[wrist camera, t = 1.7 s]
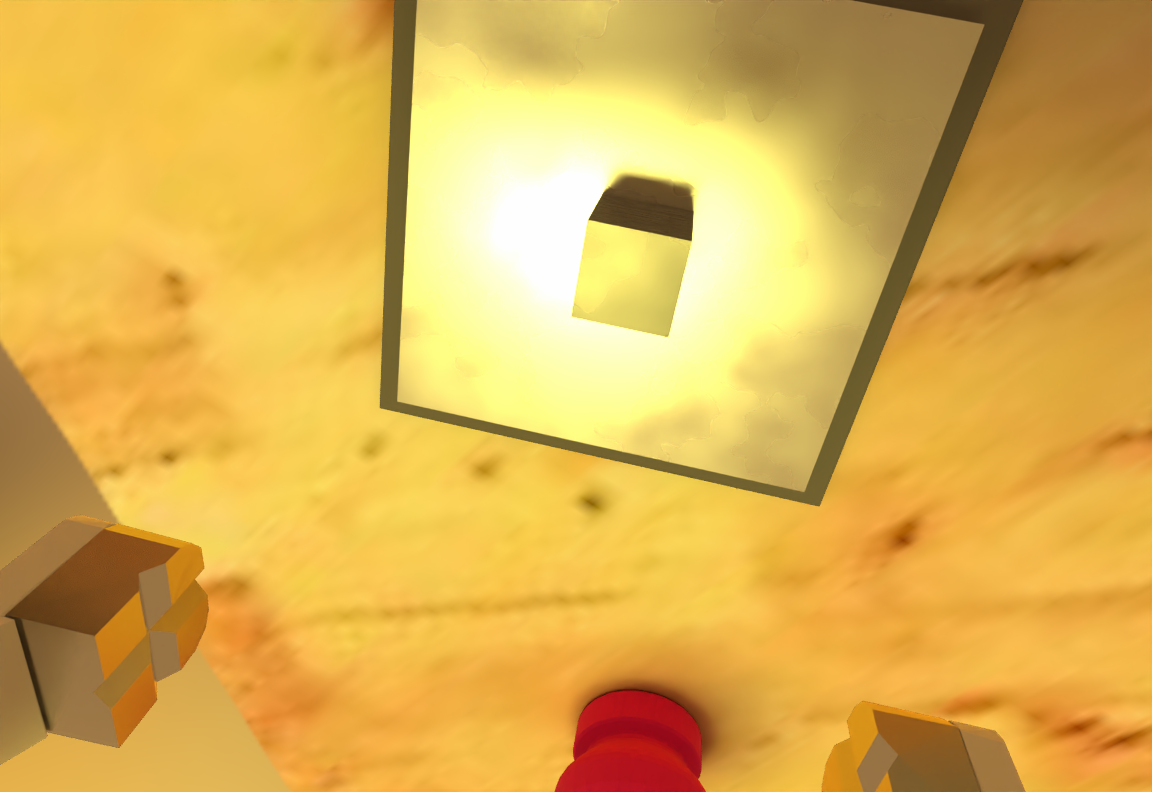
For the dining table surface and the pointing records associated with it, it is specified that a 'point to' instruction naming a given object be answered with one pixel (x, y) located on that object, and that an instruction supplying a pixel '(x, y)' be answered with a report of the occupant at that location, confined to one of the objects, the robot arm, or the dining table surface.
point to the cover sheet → (683, 136)
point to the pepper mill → (634, 746)
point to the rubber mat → (978, 3)
